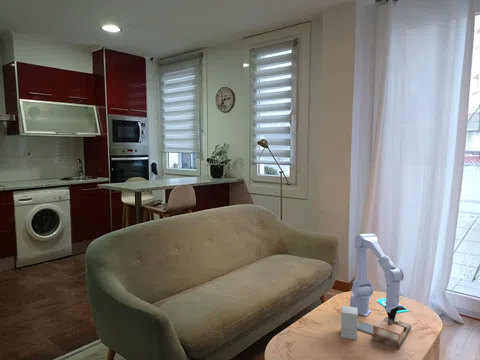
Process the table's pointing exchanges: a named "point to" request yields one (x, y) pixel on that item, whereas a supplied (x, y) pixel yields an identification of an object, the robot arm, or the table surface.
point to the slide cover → (389, 328)
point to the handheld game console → (401, 309)
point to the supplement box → (349, 322)
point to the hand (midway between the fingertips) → (391, 320)
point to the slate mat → (365, 327)
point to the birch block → (396, 321)
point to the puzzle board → (391, 335)
